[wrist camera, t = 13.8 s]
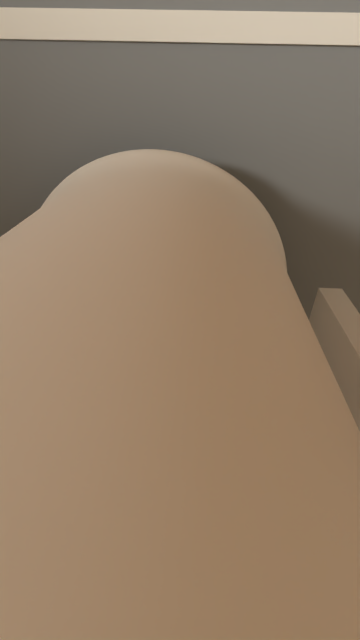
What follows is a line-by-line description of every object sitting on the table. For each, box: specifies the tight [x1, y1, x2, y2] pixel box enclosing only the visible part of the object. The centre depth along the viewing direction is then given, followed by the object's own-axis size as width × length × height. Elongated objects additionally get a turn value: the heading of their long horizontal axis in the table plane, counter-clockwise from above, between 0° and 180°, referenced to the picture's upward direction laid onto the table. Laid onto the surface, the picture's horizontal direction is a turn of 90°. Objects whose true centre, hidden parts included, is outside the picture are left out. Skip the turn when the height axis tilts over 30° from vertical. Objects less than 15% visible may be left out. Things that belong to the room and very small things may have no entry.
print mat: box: [0, 0, 360, 320], centre depth 13 cm, size 19×19×1 cm
